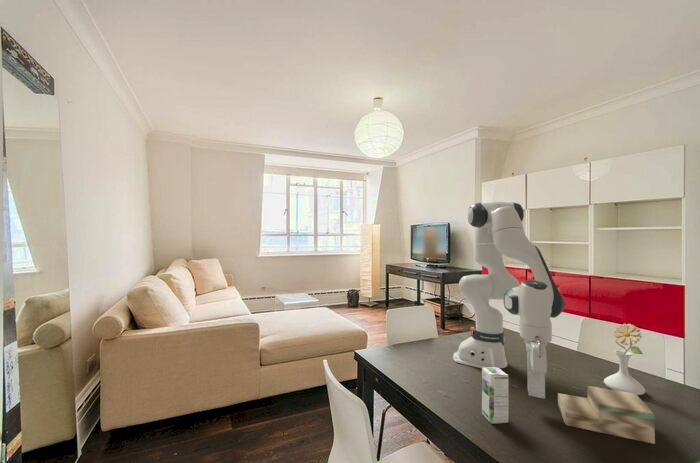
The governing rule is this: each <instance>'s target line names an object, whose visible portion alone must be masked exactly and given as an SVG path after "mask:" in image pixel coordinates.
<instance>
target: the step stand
mask: <svg viewBox="0 0 700 463" xmlns="http://www.w3.org/2000/svg"><path fill="white" fill-rule="evenodd" d="M586 387H587V388H586V389H587V390H586V394H587V397H582V396H577V395H572V394H568V393H567V394H566V393H561V392H557V406H558V408H559V412H560V414H561V416H562V419H563V421H564V424H565V425H566V426H568V427H572V428H573V427H574V428H579V429H582V430H586V431H587V430H589V431H592V432H596V433H601V434H602V433H603V434H607V435H610V436H611V435H612V436H616V437H621V438H625V439H631V440H634V441H638V442H644V443H647V444H648V443H649V444H653V445H654V444H655V445H656V438H655V437H656V433H655V424H656V423H655V422H656V416H655V413H654V412H653V411H652V409H650V407H648V406H647V404H646V403H645V402H644V401H643V400H642V399H641V398H640V397H639V395H636V394H635V393H629V392H623V391H617V390H613V389H611V388H604V387H599V386H593V385H586Z"/></svg>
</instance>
